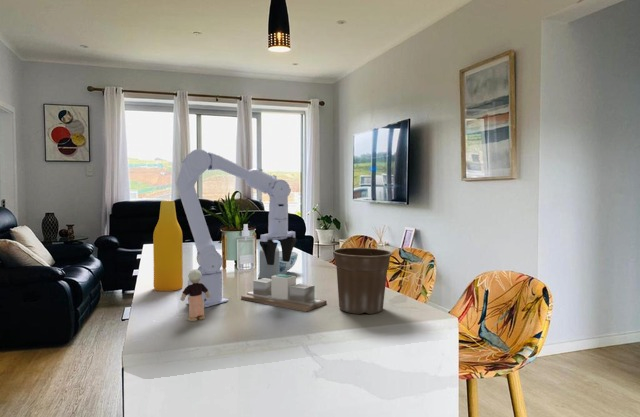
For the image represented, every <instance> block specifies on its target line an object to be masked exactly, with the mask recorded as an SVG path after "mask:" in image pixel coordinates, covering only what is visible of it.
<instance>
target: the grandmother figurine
mask: <svg viewBox="0 0 640 417" xmlns="http://www.w3.org/2000/svg"><path fill="white" fill-rule="evenodd" d="M197 269H198V268H197ZM197 269H192V270H191V271H189V273H188V275H187V277H188V280H190V281H191V283H193V284H191V285H189V286H188V285H187V286H186V287H185V288H184V289H183V291H182V294H181V297H180V301H182V302H184V301H185V300H186V299H185V298H186V297H188V295H189V304H188V312H189V317H188V318H187V320H188V321H190V322H197V321H198V320H205V319H206V316H205V307H204V304H203V297H202V292H204V293H205V295H206V297H207V298H209V297H210V294H209V292H208V289H207V288H206V287H205V286H204V285H203V284H202V283H198V282H199V281H200V279H201V278H202V277H201V276H202V274H201V272H200V271H199V270H197Z"/></svg>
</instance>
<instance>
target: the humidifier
mask: <svg viewBox="0 0 640 417" xmlns="http://www.w3.org/2000/svg"><path fill="white" fill-rule="evenodd" d="M267 216H268V224H267V225H268V226H267V230H268V233H269V213H268V215H267ZM279 251H280V249H279V247H278V246H277V247H276V251H275V261H274V265H267V261H266V257H265V254H264V251H263V249H262V247H260V250H259V276H258V277H257V280H258V279H262V278H267V279H271V276H275V275H279Z"/></svg>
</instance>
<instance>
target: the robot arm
mask: <svg viewBox="0 0 640 417" xmlns="http://www.w3.org/2000/svg"><path fill="white" fill-rule="evenodd" d="M215 170H216V171H218V170H219V171H222V172H224V173H227V174H229V175H232V176H235V177H237V178H239V179H242V180H244V182H245V184H246V186H247V187H249V188H252V189H254V190H256V191H259V192H261V193H264V194H266V195H268V196H269V203H268V207H269V209H268V210H269V211H268V214H269V224H268V226H269V233H264V234H260V240H259V246H260V248H262V249H263V251H264V254H265V257H266V261H267V265H274V261H275V251H276V247H278V244H280V248H281V251H282V259H283V261H285V262H289V261H290V257H291V253H292V252H293V250H294V247H295V245H296V244H297V241H298V240H297V238H296V231H293V230H290V231H289V204H288V202H289V200H288V198H289V195H290V194H291V192H292V191H291V190H292V189H291V187H290V185H289V184H290V183H288V181H287V180H284V179H277V178H278V176H277V175H275V174H273V175H272V174H269V173H266V172H265V171H264V170H263V169H262V168H261V167H258V168H255V167H253V168H251V169H247V168H245V167H243V166H242V165H240V164H238V163H235V162H233V161H231V160H229V159H227V158H225V157H223V156H221V155H220V154H219V155H217V154H216V153H213V152H207V150H204V149H201V148H197V149H194V150H192V151H191V152H190V153H188V154H187V155H186V157H185V158H184V159H183V161H181V164H180V168H179V172H178V174H177V177H176V182H175V185H176V189H177V192H178V195H179V198H180V200H181V201H180V202H181V203H182V206H183V209H184V213H185V215H186V219H187V221H188V225H189V228H190V232H191V234H192V237H193V241H194V243H195V248H196V252H197V254H196V262H197V264H198V265H199V267H198V268H197V270H199V271H200V272H201V274H202V276H201V277H202V278H201V279H200V281H199V282H198V283H202V284H203V285H204V286H205V287H206V288H207V289H208V292H209V294H210V297H209V298H207V297H206V295H205V293H204V292H202V297H203V304H204V308H208V307H211V306H216V305H219V304H223V303H225V302H229V299H228V298H224V297H223V269H221V268H222V266H223V257H222V255H221V254H220V253H219V252H218V251H217V249H216V247H215V244H214V242H213V239H212V237H211V234H210V230H209V226H208V225H207V224H208V223H207V222H206V218H205V215H204V213H203V208H202V206H201V203H200V200H199V196H198V194H197V191H196V187H195V185H196V183H197V182H198V180H199V178H200V177H201V175H203V174H204V173H205V172H206V171H215ZM277 240H279V242H274V241H277ZM191 284H193V283H191V281H190V280H189V279H188V281H187V286H189V285H191ZM185 304H187V305H189V295H187V301H186V302H185Z"/></svg>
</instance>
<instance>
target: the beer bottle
mask: <svg viewBox="0 0 640 417" xmlns="http://www.w3.org/2000/svg"><path fill="white" fill-rule="evenodd" d="M159 208H160V209H159V217H158V218H159V219H158V221H157V224H156V226H155V227H154V230H153V235H152V236H153V237H152V239H153V242H152V244H153V245H152V246H153V249H152V250H153V253H152V254H153V288H154V290H155V291H156V292H174V291H179V290H181V289H182V288H183V286H184V278H183V275H184V274H183V270H184V269H183V267H184V266H183V259H184V257H183V230H182V228H181V226H180V224H179V222H178V219H177V218H178V217H177V212H176V203H175V201H174V200H161V201H160V207H159Z"/></svg>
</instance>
